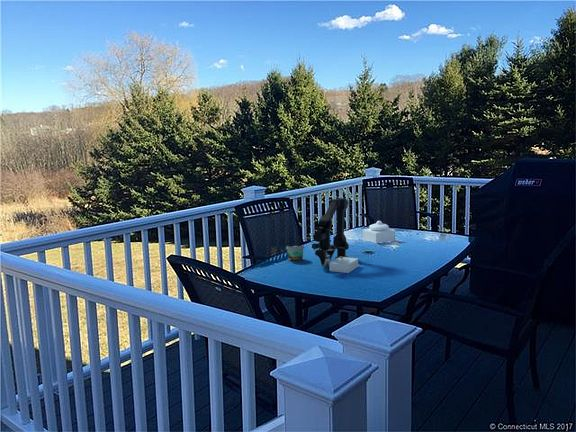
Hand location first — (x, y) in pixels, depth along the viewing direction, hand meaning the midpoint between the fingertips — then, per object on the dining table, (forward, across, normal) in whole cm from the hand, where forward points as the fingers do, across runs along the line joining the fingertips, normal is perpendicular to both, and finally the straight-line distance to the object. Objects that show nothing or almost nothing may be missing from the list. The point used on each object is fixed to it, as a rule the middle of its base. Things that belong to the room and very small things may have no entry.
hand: (325, 263), depth 293 cm
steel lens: (+2, 0, 0) cm, 2 cm away
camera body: (+2, +2, +13) cm, 13 cm away
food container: (+2, -4, -23) cm, 23 cm away
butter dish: (+2, -82, +6) cm, 82 cm away
